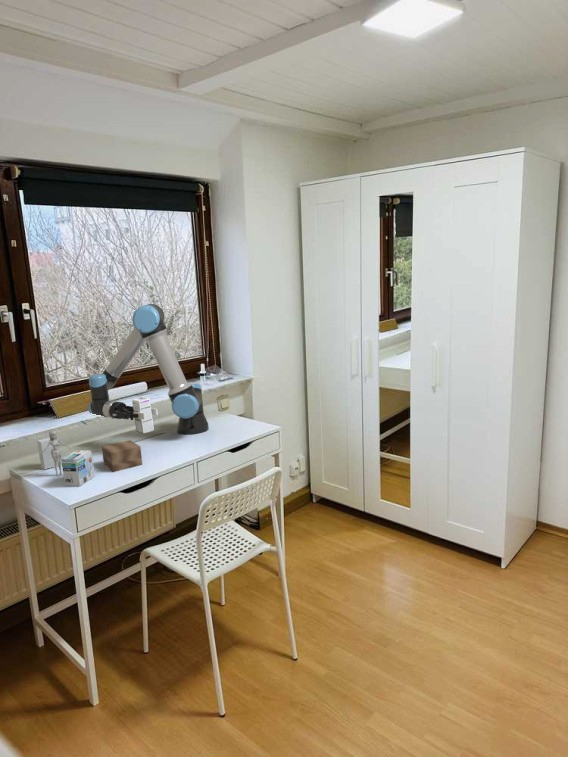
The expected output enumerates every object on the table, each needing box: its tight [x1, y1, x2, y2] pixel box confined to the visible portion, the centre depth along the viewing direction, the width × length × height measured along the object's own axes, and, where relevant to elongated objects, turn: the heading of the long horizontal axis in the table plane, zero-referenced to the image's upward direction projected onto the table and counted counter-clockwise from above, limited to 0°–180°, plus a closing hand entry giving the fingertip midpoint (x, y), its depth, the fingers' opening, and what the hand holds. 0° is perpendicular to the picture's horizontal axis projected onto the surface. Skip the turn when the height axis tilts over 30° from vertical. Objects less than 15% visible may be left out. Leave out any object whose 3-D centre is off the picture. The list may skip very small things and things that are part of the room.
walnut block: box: [101, 440, 143, 473], centre depth 230 cm, size 12×12×8 cm
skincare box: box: [36, 437, 59, 470], centre depth 233 cm, size 6×4×12 cm
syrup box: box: [131, 396, 155, 434], centre depth 243 cm, size 6×6×14 cm
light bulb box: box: [60, 449, 96, 487], centre depth 214 cm, size 11×7×11 cm, turn 168°
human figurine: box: [39, 430, 72, 477], centre depth 222 cm, size 12×4×18 cm, turn 131°
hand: (150, 414), depth 240 cm, fingers closed on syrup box, 6 cm apart
